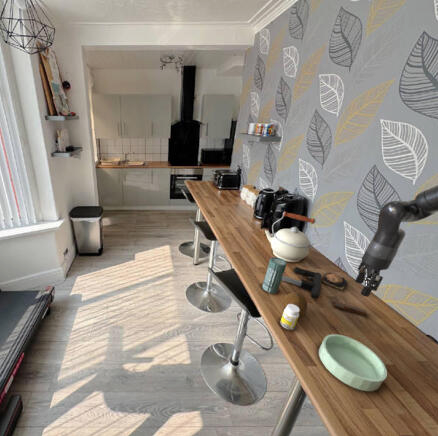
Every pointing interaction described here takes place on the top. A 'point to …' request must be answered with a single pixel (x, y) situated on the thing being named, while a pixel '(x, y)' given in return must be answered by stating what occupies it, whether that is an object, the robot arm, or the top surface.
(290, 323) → the supplement bottle
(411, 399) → the top surface
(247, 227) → the top surface
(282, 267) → the can
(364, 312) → the brown bar
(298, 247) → the kettle
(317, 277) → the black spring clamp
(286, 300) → the potato
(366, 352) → the bowl
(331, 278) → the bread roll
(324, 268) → the top surface
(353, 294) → the top surface
